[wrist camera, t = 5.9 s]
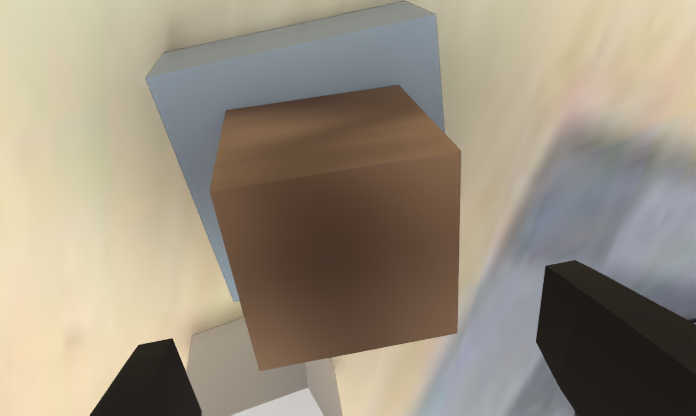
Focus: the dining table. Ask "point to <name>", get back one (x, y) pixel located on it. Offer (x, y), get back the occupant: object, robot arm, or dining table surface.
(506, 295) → the dining table surface
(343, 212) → the walnut cube
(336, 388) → the grey cube
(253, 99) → the base block
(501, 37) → the dining table surface
